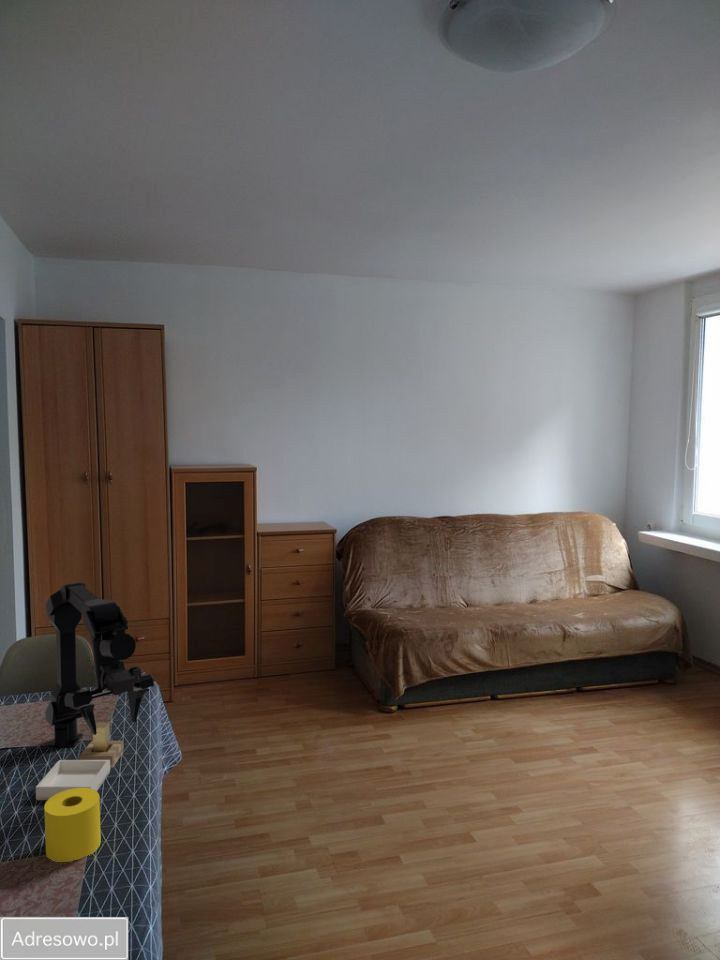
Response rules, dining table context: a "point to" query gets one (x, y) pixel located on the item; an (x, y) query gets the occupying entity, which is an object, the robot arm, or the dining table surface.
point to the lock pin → (101, 737)
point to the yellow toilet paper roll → (72, 824)
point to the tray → (73, 777)
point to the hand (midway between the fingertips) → (115, 728)
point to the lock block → (104, 753)
